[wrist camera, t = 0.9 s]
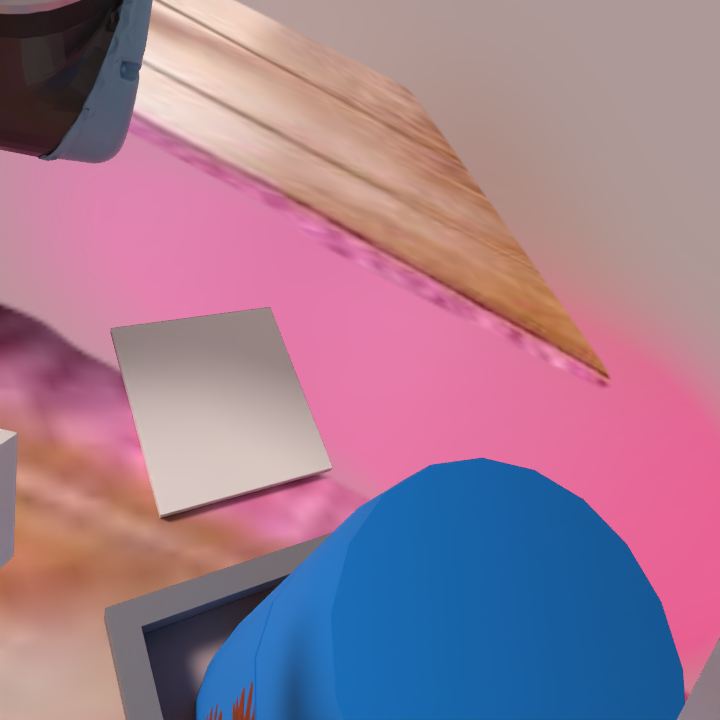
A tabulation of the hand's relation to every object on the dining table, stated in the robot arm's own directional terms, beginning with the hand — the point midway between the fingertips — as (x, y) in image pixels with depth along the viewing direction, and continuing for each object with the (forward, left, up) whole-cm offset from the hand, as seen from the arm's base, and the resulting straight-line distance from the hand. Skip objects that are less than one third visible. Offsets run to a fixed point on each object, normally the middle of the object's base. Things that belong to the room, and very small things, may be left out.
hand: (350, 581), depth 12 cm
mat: (-17, +8, -29) cm, 35 cm away
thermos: (+3, +6, -29) cm, 30 cm away
